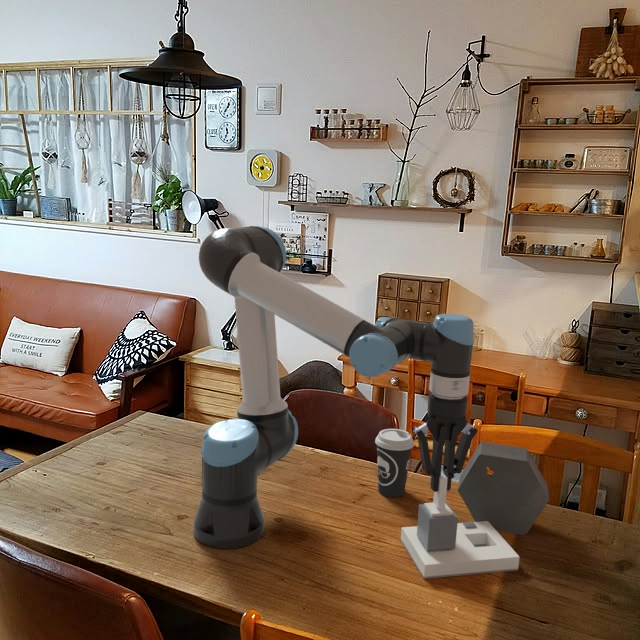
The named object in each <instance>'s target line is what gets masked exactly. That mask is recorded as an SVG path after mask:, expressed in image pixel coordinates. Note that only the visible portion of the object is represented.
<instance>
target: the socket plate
mask: <svg viewBox="0 0 640 640" xmlns="http://www.w3.org/2000/svg"><path fill="white" fill-rule="evenodd" d="M400 542H401V543H402V545H403V546H404V549H405V551H407V553H408V555H409V557H410V558H411V559H412V562H413V564H414V565H415V566H416V568H417V570H418V571H419V573H420V575H421V576H422V579H423V580H426V579H437V578H449V577H457V576H458V577H459V576H470V575H472V576H473V575H481V574H492V573H493V574H494V573H503V572H514V571H515V572H516V571H519V565H520V556H519V554H518V553H517V552H516V551H515V550H514V549H513V548H512V547H511V545H510V544H509V543H508V542H507V541H506V540H505V539H504V537H503V536H502V535H501V534H500V533H499V531H496V530H495V529H494V527H493V526H492V525H491V524H490V523H489V522H488V521H482V522H475V521H471V522H458V523H457V534H456V545H455V549H447V550H436V551H427V550H426V549H425V547H424V546H423V544H422V542H421V541H420V539H419V538H418V536H417V525H416V526H415V525H414V526H402V527H401V529H400Z"/></svg>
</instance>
